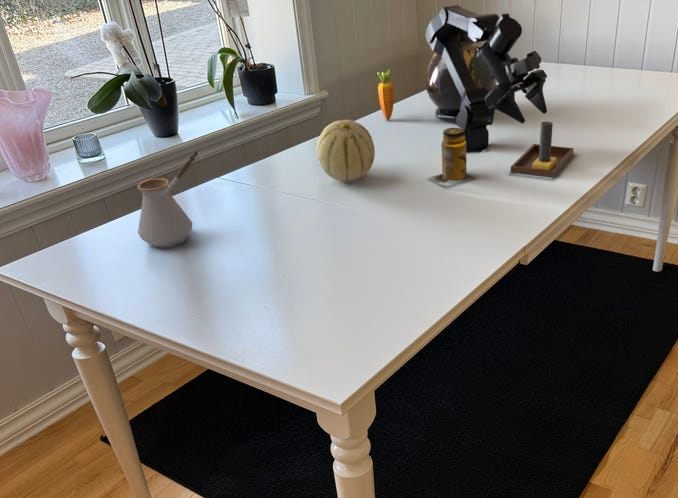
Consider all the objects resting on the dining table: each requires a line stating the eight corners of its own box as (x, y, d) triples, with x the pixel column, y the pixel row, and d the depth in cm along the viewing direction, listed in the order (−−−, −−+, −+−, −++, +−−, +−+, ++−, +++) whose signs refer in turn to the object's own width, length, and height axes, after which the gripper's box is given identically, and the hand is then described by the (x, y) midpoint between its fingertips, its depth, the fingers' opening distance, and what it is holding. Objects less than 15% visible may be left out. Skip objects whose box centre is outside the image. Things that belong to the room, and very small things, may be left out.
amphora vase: (487, 129, 204) (488, 25, 188) (418, 125, 210) (413, 24, 194) (503, 108, 221) (505, 11, 204) (438, 105, 227) (436, 10, 210)
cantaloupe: (352, 164, 185) (346, 107, 176) (389, 177, 176) (385, 117, 168) (308, 181, 177) (299, 121, 168) (344, 194, 168) (337, 133, 159)
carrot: (377, 122, 215) (373, 71, 206) (384, 117, 218) (380, 67, 210) (392, 123, 213) (388, 72, 204) (398, 118, 217) (395, 68, 208)
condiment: (473, 179, 173) (473, 130, 166) (446, 187, 169) (444, 138, 162) (456, 171, 178) (455, 123, 171) (429, 179, 174) (427, 131, 167)
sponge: (548, 174, 171) (551, 127, 164) (531, 172, 172) (534, 126, 166) (556, 166, 175) (559, 120, 168) (539, 164, 177) (541, 118, 170)
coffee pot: (171, 255, 146) (152, 187, 137) (130, 247, 150) (109, 180, 141) (233, 215, 161) (219, 152, 152) (194, 209, 165) (178, 147, 157)
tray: (552, 180, 169) (553, 171, 168) (510, 174, 174) (510, 166, 172) (573, 156, 182) (574, 148, 181) (533, 151, 187) (533, 143, 185)
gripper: (496, 49, 156) (533, 107, 157) (543, 33, 167) (578, 88, 167) (468, 80, 166) (504, 135, 166) (515, 63, 176) (548, 115, 177)
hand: (535, 117), depth 169 cm, fingers open, 9 cm apart
